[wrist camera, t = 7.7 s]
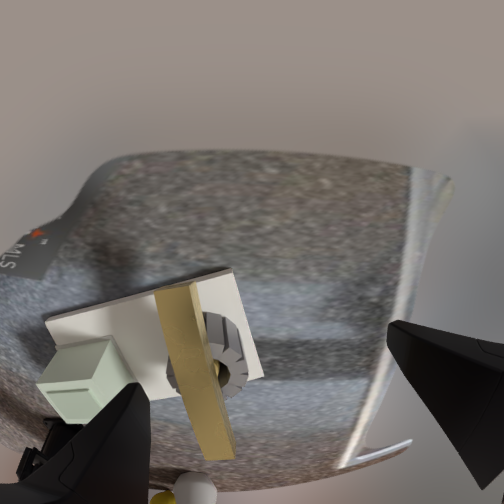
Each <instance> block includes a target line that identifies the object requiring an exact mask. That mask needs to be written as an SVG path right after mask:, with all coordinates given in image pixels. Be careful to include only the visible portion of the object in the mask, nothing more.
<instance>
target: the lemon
mask: <svg viewBox="0 0 504 504" xmlns="http://www.w3.org/2000/svg"><path fill="white" fill-rule="evenodd" d="M150 504H176V500H175V496H174V494H173V493H172V492H171V491H170V490H166V491H164V492H161V493H158V494H156V495H154V496H153V497H152V499H151V501H150Z"/></svg>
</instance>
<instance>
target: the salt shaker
mask: <svg viewBox="0 0 504 504" xmlns="http://www.w3.org/2000/svg"><path fill="white" fill-rule="evenodd" d="M173 492H174V496H175V500H176V504H216V497H217V489H216V487H215V486H214V484H213V482H212V481H211V479H210V478H209V477H208V476H207V475H205V474H204V473H198V472H191V471H190V472H187V473H183V474H180V476H179V478H178V479H177V481H176V483H175V485H174V488H173Z"/></svg>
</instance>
